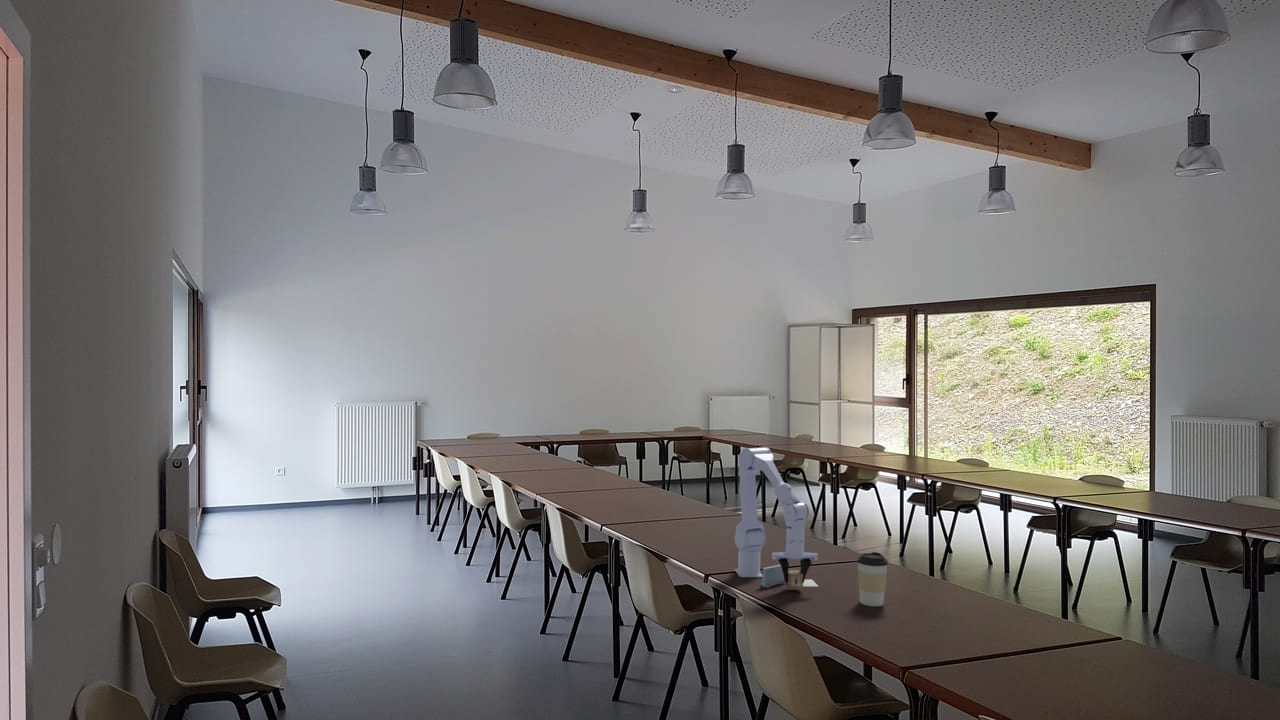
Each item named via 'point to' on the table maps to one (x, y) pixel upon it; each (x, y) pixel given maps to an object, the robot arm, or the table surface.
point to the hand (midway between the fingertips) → (794, 582)
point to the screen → (772, 576)
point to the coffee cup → (872, 578)
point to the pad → (809, 583)
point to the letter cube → (795, 580)
